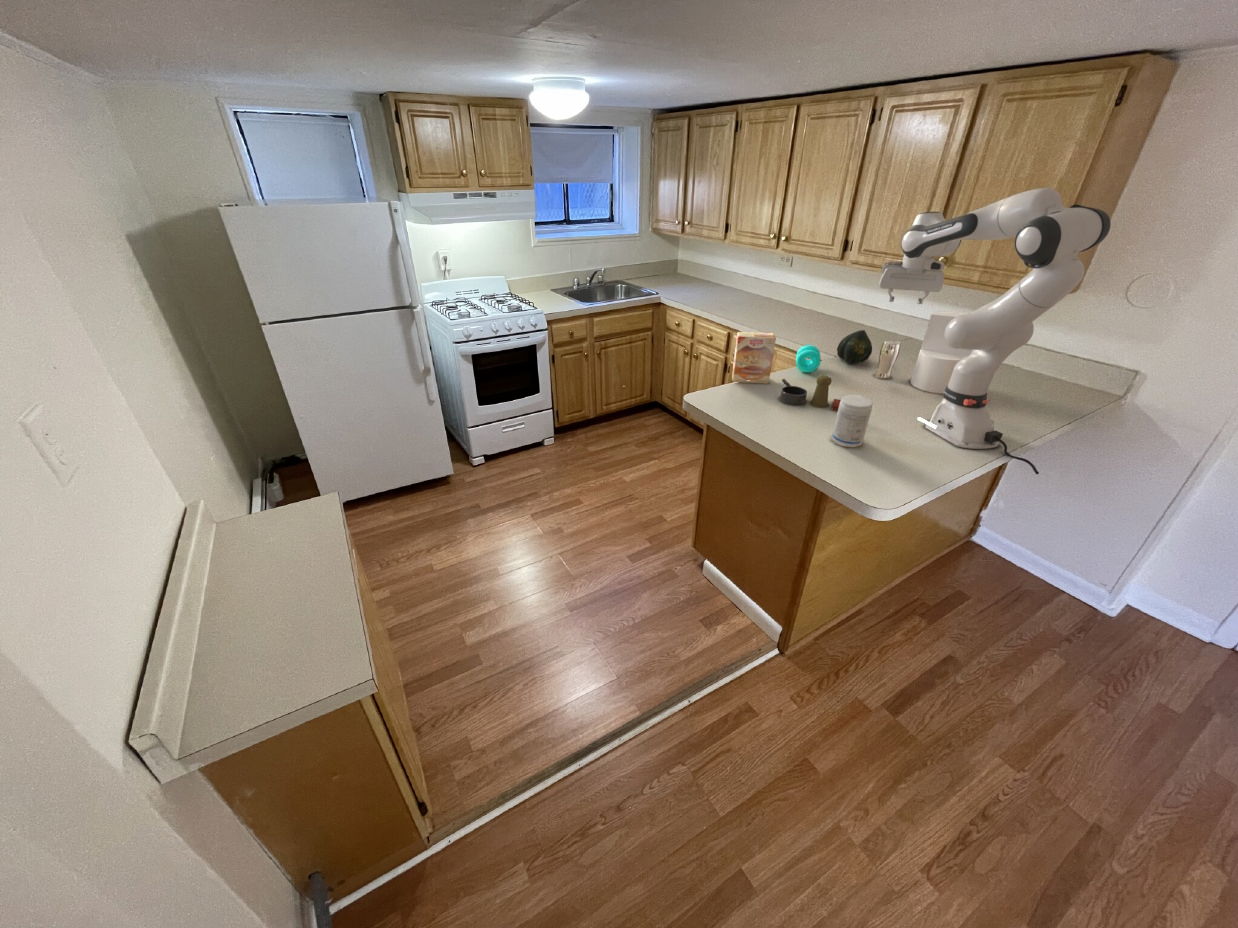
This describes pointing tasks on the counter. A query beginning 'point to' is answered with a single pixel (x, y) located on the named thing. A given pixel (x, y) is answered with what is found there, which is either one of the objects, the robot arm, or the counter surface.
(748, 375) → the coffeecake box
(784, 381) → the pan handle
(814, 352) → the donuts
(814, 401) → the olive tall rounded piece
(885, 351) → the beer glass
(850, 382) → the counter surface
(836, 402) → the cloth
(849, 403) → the supplement tub
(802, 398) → the pan
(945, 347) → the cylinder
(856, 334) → the squash
